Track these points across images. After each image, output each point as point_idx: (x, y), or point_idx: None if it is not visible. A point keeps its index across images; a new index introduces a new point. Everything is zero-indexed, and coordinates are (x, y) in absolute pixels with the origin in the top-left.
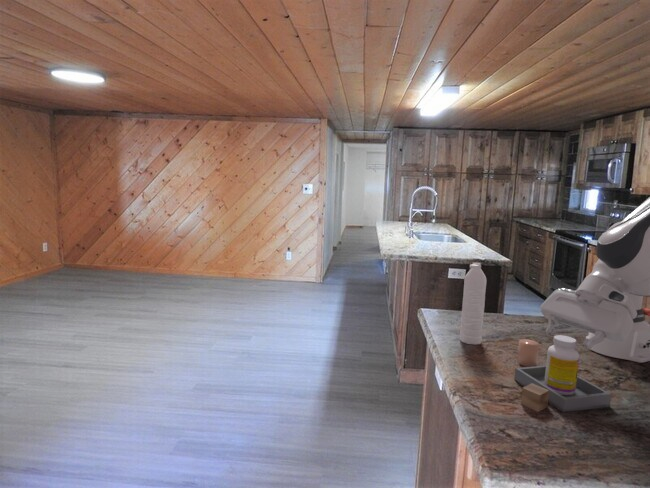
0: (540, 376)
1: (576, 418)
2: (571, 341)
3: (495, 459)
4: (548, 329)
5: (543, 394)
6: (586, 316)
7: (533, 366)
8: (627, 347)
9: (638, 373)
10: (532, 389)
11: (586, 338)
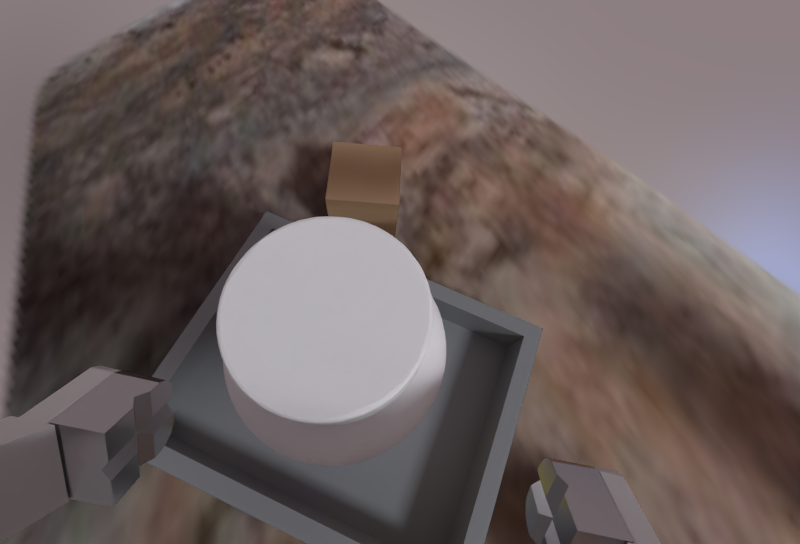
0: (470, 457)
1: (233, 234)
2: (250, 275)
3: None
4: (598, 479)
5: (330, 166)
6: None
7: None
8: None
9: None
10: (371, 161)
11: (92, 427)
